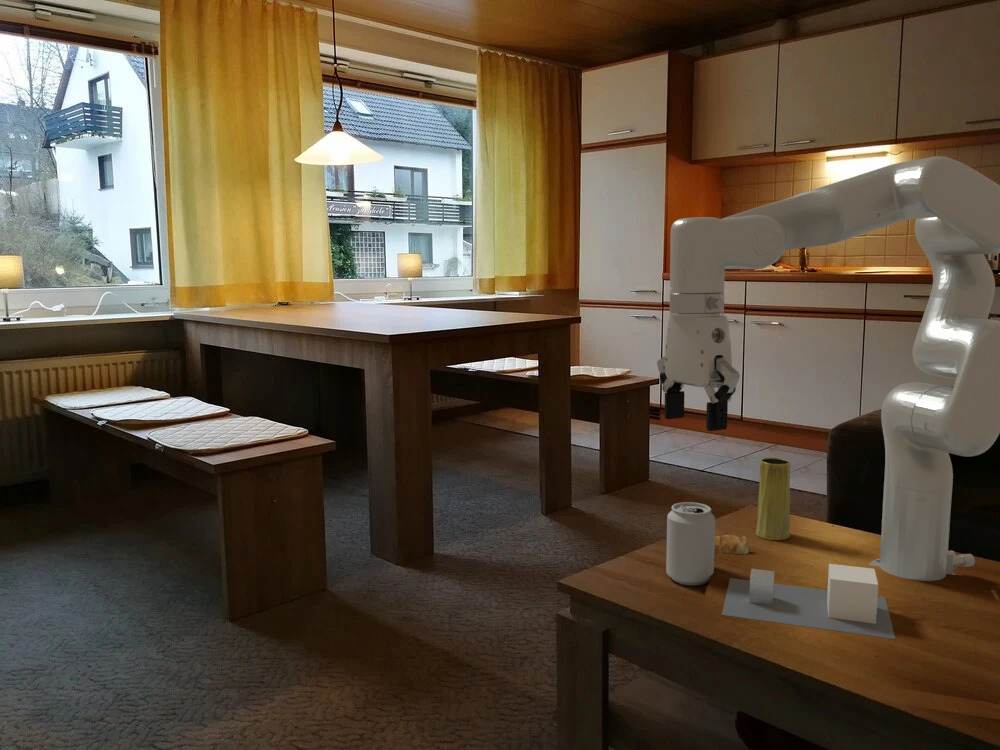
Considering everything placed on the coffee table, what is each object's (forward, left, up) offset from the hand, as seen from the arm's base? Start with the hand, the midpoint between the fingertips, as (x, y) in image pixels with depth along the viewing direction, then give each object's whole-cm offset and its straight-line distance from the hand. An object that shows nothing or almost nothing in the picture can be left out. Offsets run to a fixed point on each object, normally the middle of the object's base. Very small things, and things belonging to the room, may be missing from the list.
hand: (694, 423), depth 115 cm
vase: (-26, -26, -28) cm, 46 cm away
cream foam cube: (-20, +10, -26) cm, 34 cm away
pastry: (-13, -18, -28) cm, 36 cm away
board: (-14, +7, -27) cm, 32 cm away
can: (-3, -9, -28) cm, 29 cm away
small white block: (-9, +4, -26) cm, 28 cm away
